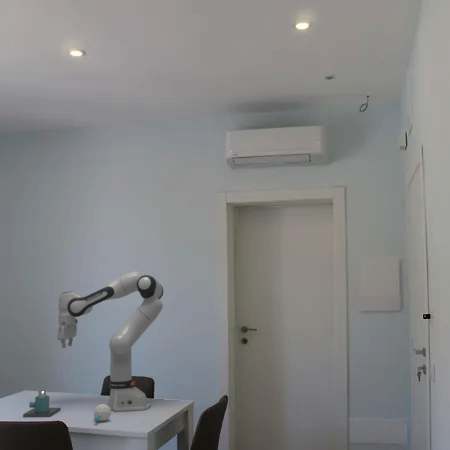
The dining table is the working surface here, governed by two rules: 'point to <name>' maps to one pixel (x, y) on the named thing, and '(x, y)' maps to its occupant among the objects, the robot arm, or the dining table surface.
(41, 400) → the sleeve
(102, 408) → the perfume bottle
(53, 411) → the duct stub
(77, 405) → the dining table surface
